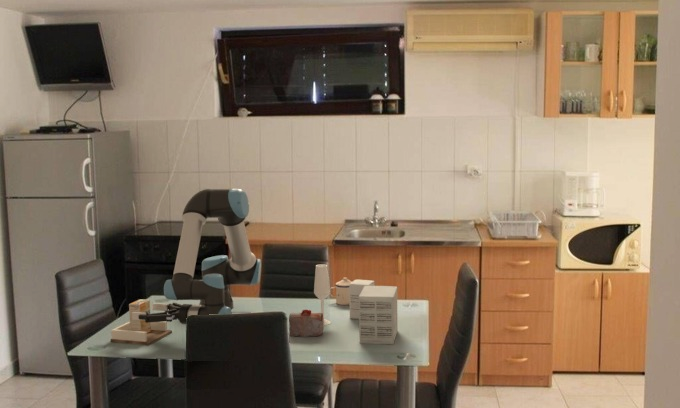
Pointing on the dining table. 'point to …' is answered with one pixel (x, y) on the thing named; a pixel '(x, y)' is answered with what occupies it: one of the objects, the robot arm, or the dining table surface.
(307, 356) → the dining table surface
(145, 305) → the supplement box
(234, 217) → the robot arm
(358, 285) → the supplement box
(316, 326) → the food item
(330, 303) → the dining table surface
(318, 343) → the dining table surface
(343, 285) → the teacup with lid
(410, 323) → the dining table surface
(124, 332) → the walled holder
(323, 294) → the champagne flute
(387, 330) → the supplement box
